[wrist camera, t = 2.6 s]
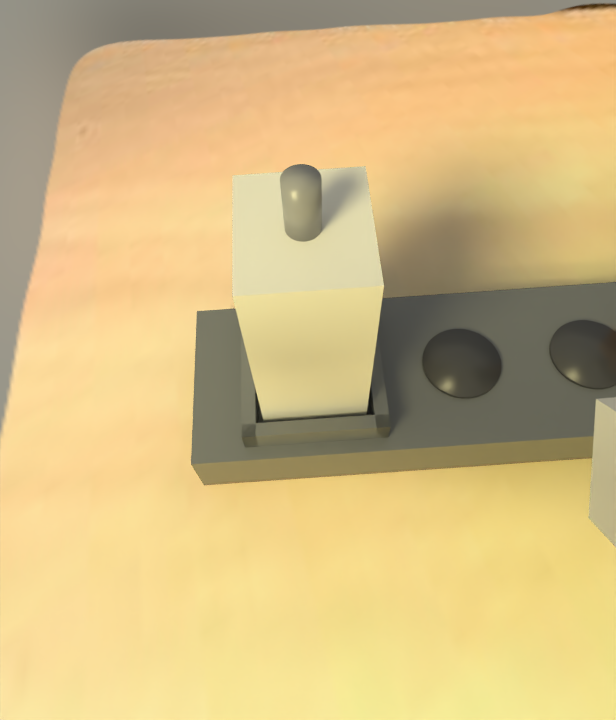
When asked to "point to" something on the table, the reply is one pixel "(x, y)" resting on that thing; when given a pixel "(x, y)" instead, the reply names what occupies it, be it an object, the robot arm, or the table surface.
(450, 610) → the table surface
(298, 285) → the white block with knob
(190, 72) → the table surface
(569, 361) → the power strip
